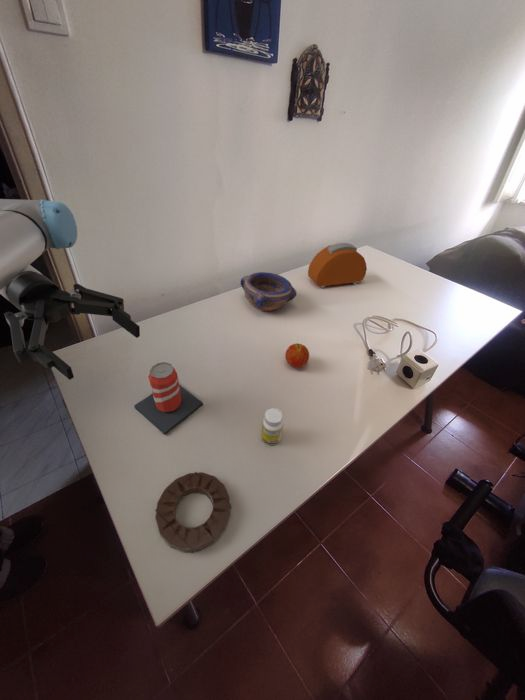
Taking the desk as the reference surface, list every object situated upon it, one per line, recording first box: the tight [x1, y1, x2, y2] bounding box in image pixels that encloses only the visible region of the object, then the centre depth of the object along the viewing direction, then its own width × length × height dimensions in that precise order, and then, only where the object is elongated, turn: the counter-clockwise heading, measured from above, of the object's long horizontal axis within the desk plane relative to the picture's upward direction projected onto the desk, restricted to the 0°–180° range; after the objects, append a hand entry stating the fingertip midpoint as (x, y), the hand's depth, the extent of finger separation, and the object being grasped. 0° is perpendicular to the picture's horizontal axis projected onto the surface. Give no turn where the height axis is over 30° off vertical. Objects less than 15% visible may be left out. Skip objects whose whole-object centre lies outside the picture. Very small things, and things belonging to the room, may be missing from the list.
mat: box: [133, 384, 204, 436], centre depth 79 cm, size 12×12×1 cm
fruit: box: [284, 342, 310, 368], centre depth 91 cm, size 7×7×8 cm
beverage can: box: [147, 361, 182, 412], centre depth 74 cm, size 6×6×12 cm
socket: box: [154, 471, 232, 554], centre depth 59 cm, size 14×14×2 cm
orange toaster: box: [307, 242, 368, 289], centre depth 130 cm, size 23×9×17 cm, turn 108°
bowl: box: [240, 271, 297, 312], centre depth 115 cm, size 18×18×10 cm
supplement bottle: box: [260, 407, 284, 446], centre depth 71 cm, size 5×5×8 cm
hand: (107, 351), depth 54 cm, fingers open, 13 cm apart
